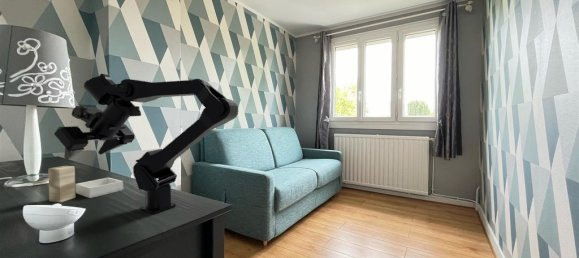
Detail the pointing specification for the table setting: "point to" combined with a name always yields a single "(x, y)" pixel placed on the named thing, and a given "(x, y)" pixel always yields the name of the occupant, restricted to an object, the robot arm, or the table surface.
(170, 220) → the table surface
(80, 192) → the tray
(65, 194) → the birch block
